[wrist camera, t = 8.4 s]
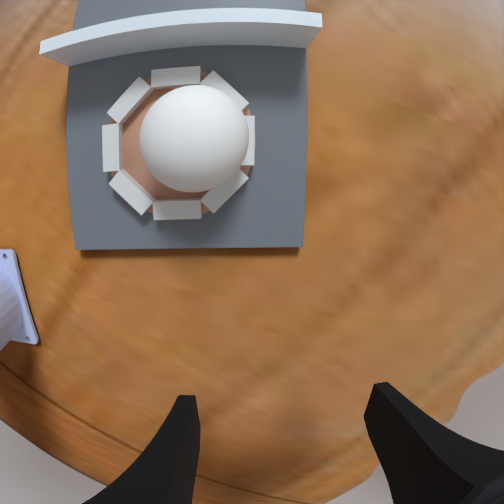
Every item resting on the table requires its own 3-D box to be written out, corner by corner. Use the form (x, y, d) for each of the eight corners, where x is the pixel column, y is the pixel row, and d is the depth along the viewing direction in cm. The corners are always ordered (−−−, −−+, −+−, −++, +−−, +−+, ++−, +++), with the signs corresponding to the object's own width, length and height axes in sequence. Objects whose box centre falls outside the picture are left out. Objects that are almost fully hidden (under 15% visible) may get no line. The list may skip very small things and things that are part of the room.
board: (81, 246, 18) (48, 270, 14) (101, -67, 11) (81, -95, 7) (300, 243, 19) (317, 269, 15) (295, -83, 11) (306, -117, 7)
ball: (132, 193, 15) (159, 206, 11) (128, 97, 13) (155, 71, 9) (219, 183, 18) (272, 192, 14) (217, 96, 16) (270, 79, 12)
